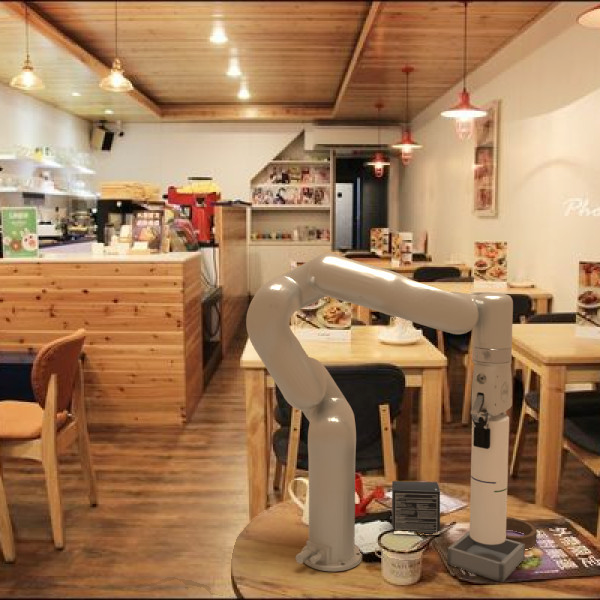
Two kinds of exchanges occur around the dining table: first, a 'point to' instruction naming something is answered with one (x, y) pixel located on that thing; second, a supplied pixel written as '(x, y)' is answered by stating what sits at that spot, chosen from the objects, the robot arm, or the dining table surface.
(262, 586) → the dining table surface
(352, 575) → the dining table surface
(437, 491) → the small box
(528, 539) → the collar
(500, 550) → the tray
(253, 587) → the dining table surface
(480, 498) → the cylindrical container
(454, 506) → the dining table surface
